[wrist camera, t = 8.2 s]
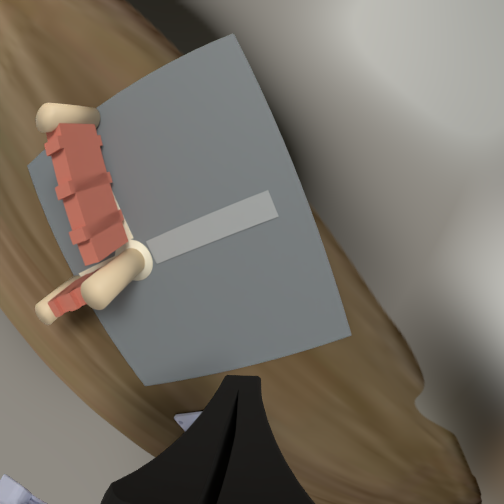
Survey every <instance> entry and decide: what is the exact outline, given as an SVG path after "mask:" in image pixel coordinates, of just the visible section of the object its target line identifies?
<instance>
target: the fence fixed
mask: <svg viewBox="0 0 504 504" xmlns="http://www.w3.org/2000/svg"><path fill="white" fill-rule="evenodd" d="M144 267H145V259H144V257H143V255H142V254H141V252H140V251H138V250H137V249H134V248H128V249H126V250H124V251H123V252H122V253H120V254H119V255H118V256H116V257H115V258H114V259H112V260H111V261H110V262H108V263H107V264H106V265H104V266H103V267H100V268H98V269H97V270H95V271H94V272H91V273H89V274H86V275H84V276H82V277H80V276H78V275H75V276H73V277H72V278H70V279H69V280H68V281H66V282H65V283H64V284H62V285H61V286H60V287H58V288H57V289H56V290H54V291H53V292H52V293H50V294H49V295H48V296H46V297H45V298H44V299H43V300H41V301H40V302H39V303H37V304H36V306H35V311H36V314H37V316H38V318H39V319H40V321H41V322H43V323H44V324H46V325H50V324H51V323H52V322H53V321H55V320H56V319H57V318H58V317H59V316H61V315H63V314H64V313H65V312H68V311H70V310H71V312H72V311H74V310H77V309H79V308H80V307H81V306H83V305H85V304H88V305H89V306H90V307H91V308H93V309H96V310H102V309H104V308H105V307H106V306H107V305H108V304H109V303H110V302H111V301H112V300H113V299H114V298H115V297H116V296H117V295H118V294H119V293H120V292H121V291H122V290H123V289H124V288H125V287H126V286H127V285H128V284H129V283H130V282H131V281H132V280H133V279H134V278H135V277H136V276H137V275H138V274H139V273H140V272H141V271H142V270H143V269H144Z"/></svg>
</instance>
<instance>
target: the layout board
mask: <svg viewBox="0 0 504 504" xmlns="http://www.w3.org/2000/svg"><path fill="white" fill-rule="evenodd" d="M96 109H97V110H98V111H99V113H100V122H99V125H98V126H97V128H96V132H97V135H100V136H101V140H102V144H103V145H102V146H100V149H101V152H102V156H103V160H104V164H105V168H106V171H107V172H110V175H111V178H112V183H110V185H111V189H112V192H113V195H114V199H115V202H116V205H117V208H118V210H120V209H121V211H122V214H123V217H124V220H123V221H122V224H123V227H124V230H125V233H126V235H127V238H128V242H127V243H125V244H124V245H122V246H121V247H120V248H118V249H117V250H115V251H114V252H112V253H111V254H110V255H108V256H107V257H105V258H104V259H103V260H101V261H100V262H97V263H93V264H90V265H86V266H85V264H84V261H83V258H82V256H81V253H80V251H79V248H78V245H77V244H74V245H73V244H72V241H71V238H70V235H69V232H70V231H72V228H71V225H70V222H69V219H68V216H67V213H66V210H65V206H64V203H63V200H62V199H61V200H58V198H57V194H56V191H55V187H57V186H59V185H58V182H57V178H56V174H55V170H54V166H53V162H52V158H51V156H47V155H46V150H44V151H43V152H42V153H40V154H39V155H38V156H37V157H36V158H35V159H34V160H33V161H32V162H31V163H30V164H29V165H28V169H29V172H30V175H31V178H32V181H33V184H34V187H35V189H36V192H37V195H38V197H39V200H40V202H41V205H42V207H43V210H44V212H45V215H46V217H47V220H48V222H49V224H50V227H51V229H52V231H53V233H54V236H55V238H56V240H57V242H58V244H59V246H60V249H61V251H62V253H63V255H64V257H65V259H66V261H67V263H68V265H69V267H70V269H71V271H72V273H73V275H74V276H75V275H78V276H80V277H82V276H84V275H86V274H89V273H91V272H94V271H95V270H97V269H98V268H100V267H103V266H104V265H106V264H107V263H108V262H110V261H111V260H112V259H114V258H115V257H116V256H118V255H119V254H120V253H122V252H123V251H124V250H126V249H128V248H134V249H137V250H138V251H140V252H141V254H142V255H143V257H144V259H145V267H144V269H143V270H142V271H141V272H140V273H139V274H138V275H137V276H136V277H135V278H134V279H133V280H132V281H131V282H130V283H129V284H128V285H127V286H126V287H125V288H124V289H123V290H122V291H121V292H120V293H119V294H118V295H117V296H116V297H115V298H114V299H113V300H112V301H111V302H110V303H109V304H108V305H107V306H106V307H105V308H104V309H102V310H96V309H93V308H92V309H93V310H94V312H95V314H96V315H97V317H98V318H99V320H100V322H101V323H102V325H103V326H104V328H105V330H106V331H107V333H108V334H109V336H110V337H111V339H112V340H113V342H114V343H115V345H116V346H117V348H118V349H119V351H120V352H121V354H122V355H123V357H124V358H125V359H126V361H127V362H128V364H129V365H130V366H131V368H132V369H133V371H134V372H135V373H136V375H137V376H138V377H139V379H140V380H141V381H142V383H143V384H144V385H145V386H149V385H156V384H162V383H168V382H174V381H180V380H185V379H190V378H196V377H201V376H206V375H210V374H215V373H220V372H224V371H229V370H233V369H237V368H242V367H246V366H250V365H254V364H258V363H262V362H266V361H269V360H273V359H277V358H280V357H284V356H288V355H291V354H294V353H298V352H301V351H305V350H308V349H311V348H314V347H318V346H321V345H324V344H327V343H330V342H333V341H336V340H339V339H342V338H345V337H348V336H351V332H350V328H349V325H348V322H347V318H346V315H345V311H344V308H343V305H342V301H341V298H340V295H339V292H338V289H337V285H336V282H335V279H334V276H333V273H332V270H331V267H330V264H329V261H328V258H327V255H326V252H325V249H324V246H323V243H322V240H321V237H320V235H319V232H318V229H317V226H316V223H315V221H314V218H313V215H312V212H311V210H310V207H309V204H308V202H307V199H306V196H305V194H304V191H303V188H302V186H301V183H300V181H299V178H298V176H297V173H296V170H295V168H294V165H293V163H292V160H291V158H290V156H289V153H288V151H287V148H286V146H285V144H284V141H283V139H282V136H281V134H280V132H279V129H278V127H277V125H276V122H275V120H274V118H273V115H272V113H271V111H270V109H269V106H268V104H267V102H266V100H265V98H264V95H263V93H262V91H261V89H260V87H259V84H258V82H257V80H256V78H255V76H254V74H253V72H252V70H251V67H250V65H249V63H248V61H247V59H246V57H245V55H244V53H243V51H242V49H241V47H240V45H239V43H238V41H237V39H236V37H235V35H234V34H231V35H228V36H226V37H223V38H221V39H219V40H216V41H214V42H212V43H209V44H207V45H205V46H203V47H200V48H198V49H196V50H194V51H192V52H190V53H188V54H186V55H184V56H182V57H180V58H178V59H176V60H174V61H172V62H170V63H168V64H166V65H164V66H163V67H161V68H159V69H157V70H155V71H154V72H152V73H150V74H148V75H147V76H145V77H143V78H142V79H140V80H138V81H137V82H135V83H133V84H132V85H130V86H129V87H127V88H125V89H124V90H122V91H121V92H119V93H118V94H116V95H115V96H113V97H112V98H110V99H109V100H107V101H106V102H104V103H103V104H102V105H100V106H99V107H97V108H96Z"/></svg>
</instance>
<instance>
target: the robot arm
mask: <svg viewBox="0 0 504 504" xmlns="http://www.w3.org/2000/svg"><path fill="white" fill-rule="evenodd" d="M174 419H175V421H176V422H177V423H178V424H179V425H180V426H181V427H182V428H183V430H184V431H185V432H184V433H183V434H182V435H181V436H180V437H179V438H178V439H177V440H176V441H175V442H174V443H173V444H172V445H171V446H169V447H168V448H167V449H166V450H165V451H164V452H162V453H161V454H160V455H158V456H157V457H156V458H154V459H153V460H152V461H150V462H149V463H147V464H146V465H144V466H142V467H141V468H139V469H138V470H136V471H134V472H133V473H131V474H129V475H127V476H125V477H123V478H121V479H119V480H117V481H115V482H113V483H111V485H110V486H109V488H108V490H107V491H106V493H105V495H104V497H103V499H102V501H101V504H315V503H314V502H313V500H312V499H311V498H310V497H309V495H308V494H307V493H306V492H305V490H304V489H303V488H302V486H301V485H300V483H299V482H298V480H297V479H296V477H295V476H294V474H293V472H292V471H291V469H290V468H289V466H288V464H287V463H286V461H285V459H284V457H283V455H282V453H281V451H280V449H279V447H278V445H277V443H276V441H275V438H274V436H273V433H272V431H271V428H270V425H269V423H268V420H267V416H266V413H265V409H264V406H263V401H262V396H261V378H260V377H258V376H238V375H227V376H225V378H224V379H223V381H222V383H221V385H220V387H219V388H218V390H217V391H216V393H215V395H214V396H213V398H212V399H211V400H210V402H209V403H208V405H207V406H206V407H205V409H204V410H203V411H200V412H192V413H184V414H176V415H175V416H174ZM0 504H47V503H45V502H44V501H42V500H40V499H39V498H37V497H35V496H34V495H32V494H31V493H30V492H29V491H28V490H27V489H26V488H25V487H23V486H22V485H21V484H19V483H18V482H16V481H15V480H14V479H12V478H11V477H9V476H8V475H6V474H4V475H3V477H2V478H1V480H0Z"/></svg>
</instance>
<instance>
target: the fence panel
mask: <svg viewBox="0 0 504 504" xmlns="http://www.w3.org/2000/svg"><path fill="white" fill-rule="evenodd" d="M99 122H100V113H99V111H98V110H97V109H96V108H91V107H84V106H75V105H66V104H57V103H45V104H43V105H42V106H41V107H40V109H39V110H38V113H37V116H36V126H37V128H38V130H39V131H40V132H46V134H47V139H48V142H47V143H45V144H44V145H45V150H46V155H47V156H51V158H52V162H53V166H54V170H55V174H56V178H57V182H58V185H59V186H57V187H55V191H56V194H57V198H58V200H61V199H62V200H63V203H64V206H65V210H66V213H67V216H68V219H69V222H70V225H71V228H72V231H70V232H69V235H70V238H71V241H72V244H73V245H74V244H77V245H78V248H79V251H80V253H81V256H82V258H83V261H84V264H85V266H86V265H90V264H93V263H97V262H100V261H101V260H103V259H104V258H105V257H107V256H108V255H110V254H111V253H112V252H114V251H115V250H117V249H118V248H120V247H121V246H122V245H124V244H125V243H127V242H128V238H127V235H126V233H125V230H124V227H123V224H122V221H123V220H124V217H123V214H122V211H121V209H120V210H118V208H117V205H116V202H115V199H114V195H113V192H112V189H111V185H110V183H112V178H111V175H110V172H107V171H106V168H105V164H104V160H103V156H102V152H101V149H100V146H102V145H103V144H102V140H101V136H100V135H97V132H96V128H97V126H98V125H99Z"/></svg>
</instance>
